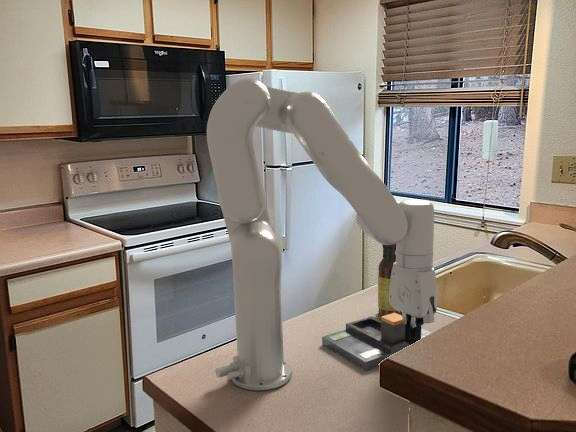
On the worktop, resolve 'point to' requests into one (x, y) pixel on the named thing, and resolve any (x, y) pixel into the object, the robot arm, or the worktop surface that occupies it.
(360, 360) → the panel
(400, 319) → the toggle
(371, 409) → the worktop surface
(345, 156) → the robot arm
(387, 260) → the sauce bottle
